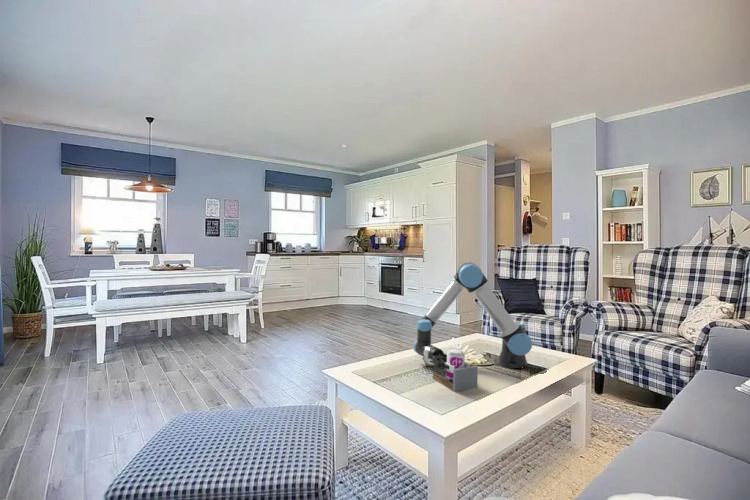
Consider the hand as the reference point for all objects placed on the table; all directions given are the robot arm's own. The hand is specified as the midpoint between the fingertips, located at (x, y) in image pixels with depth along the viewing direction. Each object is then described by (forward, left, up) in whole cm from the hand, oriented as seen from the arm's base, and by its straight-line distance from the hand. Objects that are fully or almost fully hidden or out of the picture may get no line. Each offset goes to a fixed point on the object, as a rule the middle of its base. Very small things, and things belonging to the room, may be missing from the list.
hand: (461, 368), depth 178 cm
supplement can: (0, -5, -8) cm, 9 cm away
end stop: (0, +2, -9) cm, 9 cm away
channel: (0, -6, -9) cm, 11 cm away
